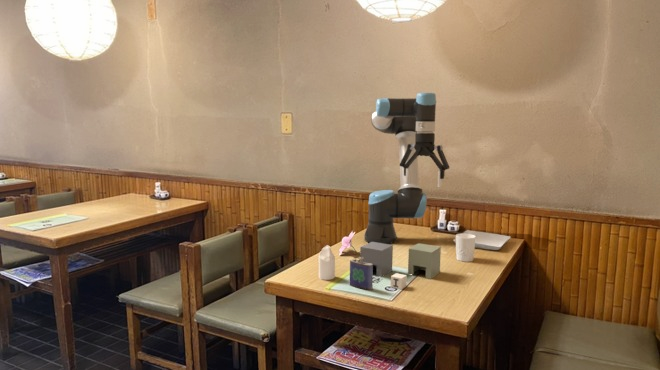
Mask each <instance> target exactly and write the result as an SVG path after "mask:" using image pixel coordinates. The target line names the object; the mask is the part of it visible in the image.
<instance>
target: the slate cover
mask: <svg viewBox="0 0 660 370" xmlns="http://www.w3.org/2000/svg"><path fill="white" fill-rule="evenodd" d="M359 248H360V251H359V254H360V255H359V257H361V258H362V257H363V258H364V259H363V262H366V263H371V264H373V267H374V268H373V269H376V277H379V276H381V277H380V278H382V277H384V276H385V274H386V275H387V274H389V273H391V272H392V271H393V257H394V256H393V253H394V251H393V250H394V245H393V244H390V243H389V244H383V243H377V242H367V243H366V244H363V245H362V246H360V247H359ZM390 271H391V272H390ZM388 272H389V273H388ZM383 275H384V276H383Z"/></svg>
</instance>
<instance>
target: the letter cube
mask: <svg viewBox="0 0 660 370" xmlns="http://www.w3.org/2000/svg"><path fill="white" fill-rule="evenodd" d="M407 276H408V274H401V273H396V272H395V273H394V274H393V275H390V288H392V287H393V289H397V288H398V289H397V290H403V289H404V288H406V287H407Z"/></svg>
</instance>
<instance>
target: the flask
mask: <svg viewBox="0 0 660 370" xmlns="http://www.w3.org/2000/svg"><path fill="white" fill-rule="evenodd" d="M363 259H364V258H363V257H362V258H361V257H360V256H359V257H357V259H356V258H354V259H350V261H349V286H351V287H353V288H356V289H361V290H366V291H367V290H368V291H372V290H373V273H374V272H373V270H374V268H373V264H371V263H366V262H363Z"/></svg>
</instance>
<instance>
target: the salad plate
mask: <svg viewBox="0 0 660 370" xmlns="http://www.w3.org/2000/svg"><path fill="white" fill-rule="evenodd" d="M461 234H472V235H475V236H476V240H475V249H480V250H481V249H482V250H489V251H498V250H500V249H502V247H503V246H504V245H505V244H506V243H507V242H508V241H509V240H511V238H512V237H511V236H510V235H503V234H499V233H498V234H497V233H491V232H485V231H477V230H476V231H475V230H469V229H467V230H465V231H463V232H462V233H461ZM453 242H454V243H455V244H456V237H455V238H453Z"/></svg>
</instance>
